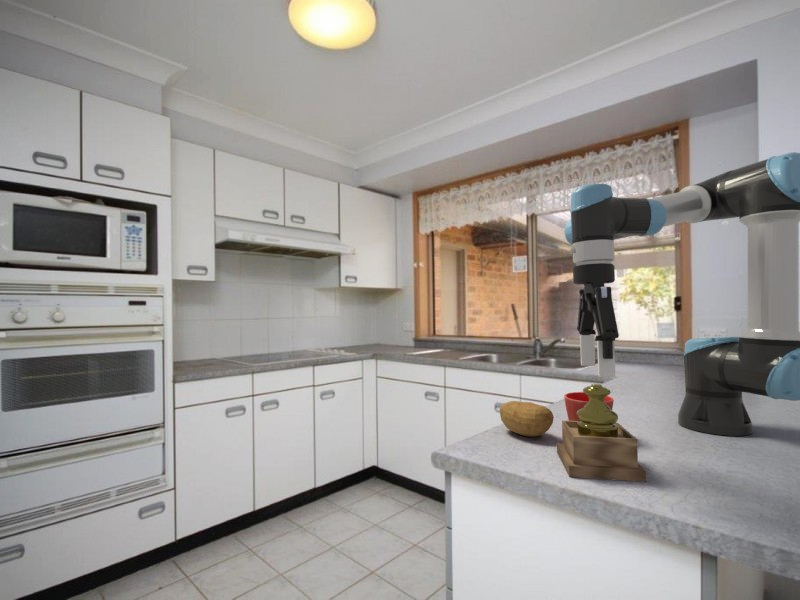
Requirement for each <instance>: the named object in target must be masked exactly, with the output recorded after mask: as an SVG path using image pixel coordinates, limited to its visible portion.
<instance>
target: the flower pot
mask: <svg viewBox="0 0 800 600" xmlns="http://www.w3.org/2000/svg"><path fill="white" fill-rule="evenodd" d="M563 397H564V404H565V408H566V409H565V410H566V415H567V421H579V420H580V419H579V418H578V417H577V411H578V410H579V409H581V408H583V407H584V405H586V404H587V403H588V402H589V397H588V396H587V395H586V394H585V393H584V392H583V391H576V392H575V391H574V392H567V393H565V394H564V395H563ZM604 402H605V404H606V405H607V406H608V407H610V410H612V411H613V408H614V398H613V397H612V396H610V395H608V396H606V398H605V399H604Z"/></svg>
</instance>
